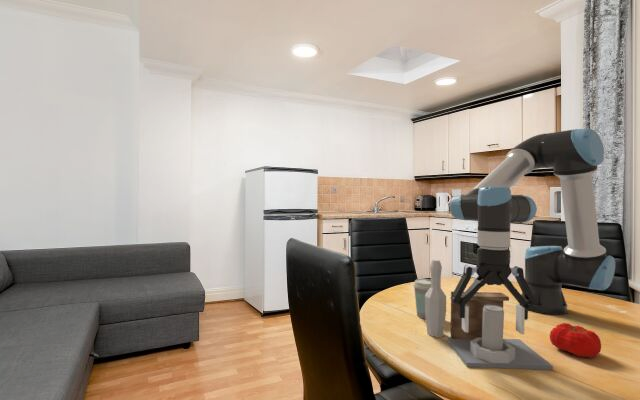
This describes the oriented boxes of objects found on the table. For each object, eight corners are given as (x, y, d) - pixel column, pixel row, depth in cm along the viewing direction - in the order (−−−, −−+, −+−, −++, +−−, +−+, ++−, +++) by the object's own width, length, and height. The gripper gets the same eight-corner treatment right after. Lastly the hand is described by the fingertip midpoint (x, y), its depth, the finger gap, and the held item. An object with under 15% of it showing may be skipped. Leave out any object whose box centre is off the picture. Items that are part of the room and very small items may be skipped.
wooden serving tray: (500, 342, 101) (501, 292, 101) (508, 348, 97) (509, 297, 97) (450, 340, 102) (451, 291, 102) (455, 347, 98) (456, 295, 98)
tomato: (585, 364, 88) (586, 337, 88) (542, 347, 99) (542, 323, 98) (609, 357, 92) (609, 332, 92) (565, 341, 102) (565, 318, 102)
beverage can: (477, 350, 93) (479, 304, 93) (495, 349, 93) (496, 304, 93) (488, 359, 88) (490, 310, 88) (506, 358, 89) (508, 310, 88)
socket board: (519, 342, 101) (519, 330, 101) (552, 369, 85) (552, 355, 85) (446, 340, 102) (447, 328, 102) (466, 366, 86) (467, 352, 86)
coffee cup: (440, 321, 118) (440, 285, 118) (413, 319, 120) (414, 283, 120) (437, 313, 127) (437, 279, 126) (412, 311, 128) (412, 278, 128)
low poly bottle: (421, 329, 111) (422, 258, 110) (442, 330, 110) (443, 258, 110) (427, 337, 104) (428, 262, 104) (449, 338, 104) (450, 262, 104)
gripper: (536, 246, 94) (535, 327, 94) (439, 244, 95) (438, 324, 95) (553, 250, 86) (552, 338, 86) (447, 248, 88) (446, 335, 88)
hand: (492, 331), depth 91 cm, fingers open, 13 cm apart
